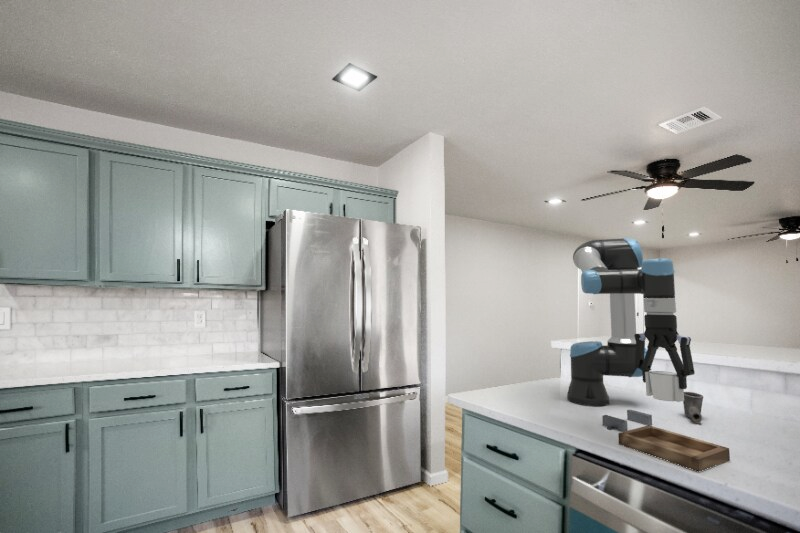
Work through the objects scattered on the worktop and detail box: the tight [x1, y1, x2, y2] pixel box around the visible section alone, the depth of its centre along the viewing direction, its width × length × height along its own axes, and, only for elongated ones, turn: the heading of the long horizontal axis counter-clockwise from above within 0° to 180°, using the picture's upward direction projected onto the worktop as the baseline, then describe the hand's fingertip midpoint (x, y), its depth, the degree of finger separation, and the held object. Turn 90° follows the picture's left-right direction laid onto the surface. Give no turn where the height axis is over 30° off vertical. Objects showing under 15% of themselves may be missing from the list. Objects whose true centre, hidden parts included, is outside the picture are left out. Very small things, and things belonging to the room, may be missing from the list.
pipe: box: [682, 391, 704, 424], centre depth 132 cm, size 6×13×8 cm, turn 150°
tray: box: [617, 425, 731, 472], centre depth 104 cm, size 20×15×3 cm
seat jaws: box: [601, 409, 653, 432], centre depth 126 cm, size 7×19×3 cm, turn 117°
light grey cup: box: [649, 370, 677, 402], centre depth 107 cm, size 7×7×7 cm
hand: (664, 397), depth 106 cm, fingers closed on light grey cup, 7 cm apart
